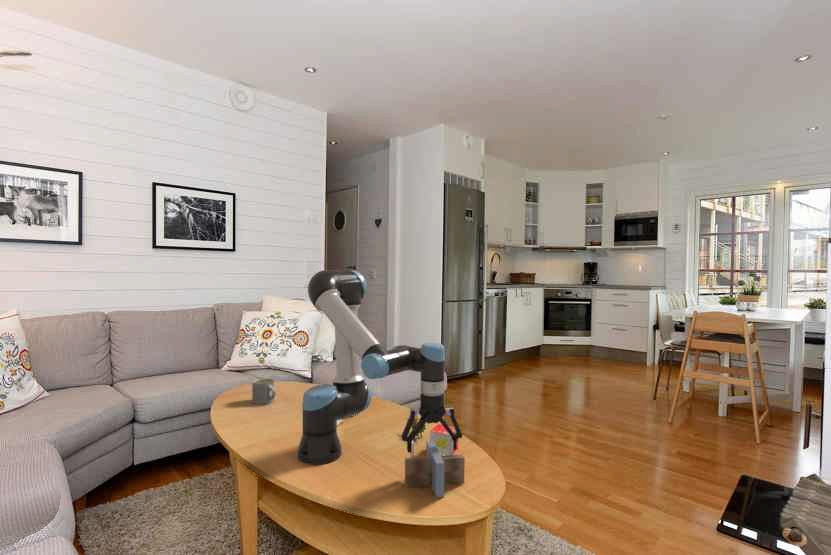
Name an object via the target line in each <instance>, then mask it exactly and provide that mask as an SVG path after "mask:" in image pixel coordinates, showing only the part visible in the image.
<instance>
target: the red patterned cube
mask: <svg viewBox="0 0 831 555" xmlns="http://www.w3.org/2000/svg"><path fill="white" fill-rule="evenodd" d="M448 426H449V428H450V429H451V430H452V432H453V433H454V434H456V430H455V428H454V426H452V425H448ZM449 438H452V437H451V436H450V434H449V433H448V432H447V430H446V429H445V428H444V426H443V425H442V424H441V423H437V424H436V425H435V426H434V427H433V428H432V429H431V430H430V431H429V441H434V442H435V444H436V447H437V449H438V451H439V453H440V455H441V456H442V455H445V456H446V455H449ZM456 450H457V451H458V450H459V439H457V442H456ZM456 450H453V455H455V453H456V452H457V451H456ZM455 451H456V452H455ZM454 452H455V453H454Z"/></svg>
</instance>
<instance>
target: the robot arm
mask: <svg viewBox="0 0 831 555" xmlns="http://www.w3.org/2000/svg"><path fill="white" fill-rule="evenodd" d="M367 285H368V284H367V281H366V279H365V277H364V276H363V275H362V273H361V272H359V271H357V270H353V269H330V270H329V269H325V270H320V271H318V272H316V273H315V274H314V275H313V276H312V277H311V278H310V280H309V282H308V285H307V295H308V298H309V300H310V302H311V304H312V305H313V307H314V308H315V309H316V311H318V312H322V313H323V314H324V315H325V316H326V317H327V319H328V320H329V322H331V324H332V325H333V327H334V336H335V337H334V339H335V340H334V341H335V361H336V364H335V365H336V376H335V377H334V378H333V379H332V384H327V383H326V384H318V385H315V386H312V387H310V388H307V390H306V391H305V392H304V393H303V396H302V404H301V407H302V435H301V438H300V441H299V444H298V448H297V452H296V453H297V455H296V456H297V457H296V458H297V460H298V461H299V462H301V463H304V464H308V465H323V464H328V463H331V462H335V461H336V460H338V459H340V457H341V456H342V450H343V448H342V444H341V441H340V438H339V435H338V431H337V430H338V426H337V425H338V422H337V421H340V420H342V419H347V418H349V417H350V416H352V415H356V416H357V414H358V415H359V414H361V413H363V412H365V411H366V410H367V409H368V408H369V406H370V405H371V401H372V398H373V396H372V389H371V387H370V385H369V384H368V382H367V381H365V377H366V378H368V379H370V380H377V379H383V378H385V377H388V376H391V375H395V374H399V373H402V372H406V371H412V372H416V373H417V372H418V373H420V398H419V399H420V406H419V409H414V407H413V408H410V410H409V416H408V418H407V419H408V420H407V421H406V424H405V427H404V429H403V430H402V432H401V433H402V434H401V440H402V441H403V442H406V450H407V453H408V454H409V453H410V456H409V458H410V457H415V442H414V440H415V437H416V436H417V434H418V432H419V431H420V429H421V428H422V427H423V426H424V425H425V426H426V424H432V423H433V424H441V425H443V426H444V428H445V429H446V430H447V432H448V433H449V434H450V436H451V437H452V438H449V455H454V454H453V450H456V442H457V439H458V440H459V439H462V438H463V434H462V431H461V428H460V427H459V424H458V421H457V419H456V416H455V409H454V408H453V407H452V406H449V407H447V408H445V394H444V393H445V365H446V364H445V363H446V361H445V360H446V354H445V347H444V345H443V344H442V343H438V342H426V343H422V344H421V345H420V347H415V346H409V345H406V344H403V345H402V344H401V345H400V344H397V345H395V346H393V348H391V349H387V350H386V348H385V347H384V346H383V345H382V344H381V343H380V342H379V340H377V339H376V337H375V336H374V335H373V334H372V333H371V331H370V330H369V329H368V328H367V326H366V325H364V323H363V322H362V321H361V320H360V319H359V316H358V310H359V308H360V307H361V306H362V300H363V299H364V298H365V296H366V294H367V291H368V287H367ZM360 359H361V362H360ZM360 363H361V364H360ZM360 366H361V367H360ZM361 370H362V373H363V375H362V374H361ZM364 376H365V377H364ZM360 412H361V413H360ZM446 414H447V416H449V418H450V420H451V423H452V425H453V427H454V428H455V430H456V434H454V433H453V432H452V430H451V429H450V428H449V426H450V425H448V423H447V422H446V420H445V419H444V418H443V417H444V415H446ZM418 415H420V418H418V423H417V424H416V426H415V427H414V428H413V430H412V424H413V422H414V419H415V418H416V416H417V417H418Z"/></svg>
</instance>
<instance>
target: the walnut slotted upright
mask: <svg viewBox="0 0 831 555" xmlns="http://www.w3.org/2000/svg"><path fill="white" fill-rule="evenodd" d="M441 457H442V459H443V461H444V486H450V485H451V484H452V485H463V484H462V483H464V484H465V459H466V458H465V456H464V454H453V455H446V456H442V455H441ZM404 485H405V486H404V487H405V488H406V489H408V488H420V487H422V488H423V487H432V476H431V474H430V472H429V458H428V457H426V456H414V457H410V456H409V457H405V458H404Z"/></svg>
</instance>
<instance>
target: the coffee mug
mask: <svg viewBox="0 0 831 555" xmlns="http://www.w3.org/2000/svg"><path fill="white" fill-rule="evenodd" d="M251 386H252V387H251V388H252V390H251V391H252V392H251V393H252V394H251V397H252V399H251V400H252V402H253V403H254V405H256V404H264V405H268V404H272V403H274V401H275V397H276V396H277V391H276V388H275V379H273V378H258V379H254V380H253V381H252V383H251ZM252 402H251V403H252ZM253 403H252V404H253Z"/></svg>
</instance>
